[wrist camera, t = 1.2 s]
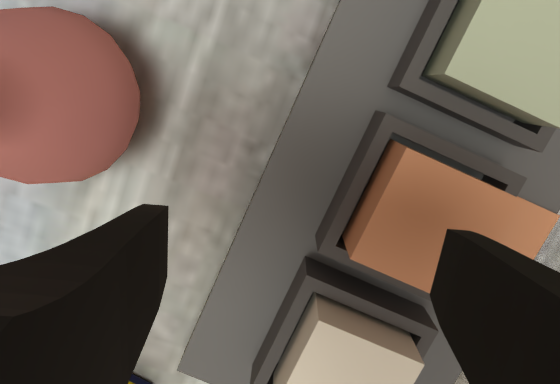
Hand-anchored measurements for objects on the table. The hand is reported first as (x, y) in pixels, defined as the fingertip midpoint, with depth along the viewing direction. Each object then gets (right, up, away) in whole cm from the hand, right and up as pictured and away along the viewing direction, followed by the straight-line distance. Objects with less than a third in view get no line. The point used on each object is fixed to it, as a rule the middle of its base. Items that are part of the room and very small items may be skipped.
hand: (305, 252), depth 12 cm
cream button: (+2, -6, +11) cm, 13 cm away
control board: (+6, +1, +13) cm, 14 cm away
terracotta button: (+6, +1, +10) cm, 11 cm away
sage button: (+9, +8, +8) cm, 14 cm away
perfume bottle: (-11, +7, +12) cm, 18 cm away
